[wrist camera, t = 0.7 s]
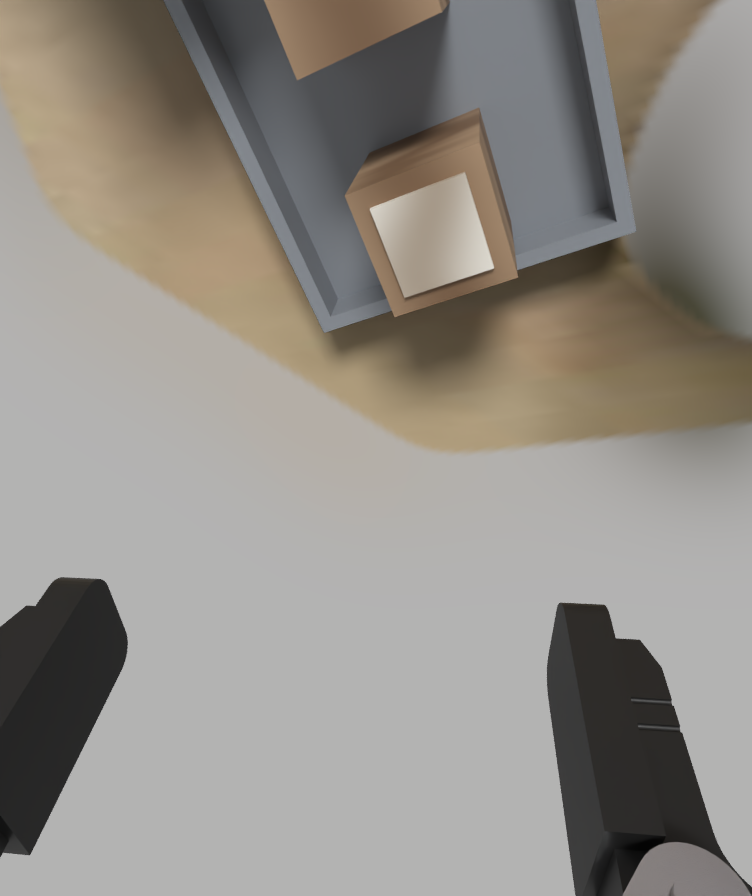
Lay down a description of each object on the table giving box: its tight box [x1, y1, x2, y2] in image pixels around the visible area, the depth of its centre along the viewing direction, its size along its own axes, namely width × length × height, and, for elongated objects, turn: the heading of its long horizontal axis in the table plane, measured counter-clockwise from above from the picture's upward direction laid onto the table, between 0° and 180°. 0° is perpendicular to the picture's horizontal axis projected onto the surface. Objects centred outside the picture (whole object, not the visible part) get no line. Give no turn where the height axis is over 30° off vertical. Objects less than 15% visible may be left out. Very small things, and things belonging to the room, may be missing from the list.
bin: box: [163, 0, 636, 333], centre depth 23 cm, size 13×15×2 cm
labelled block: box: [345, 108, 518, 317], centre depth 24 cm, size 4×4×6 cm
